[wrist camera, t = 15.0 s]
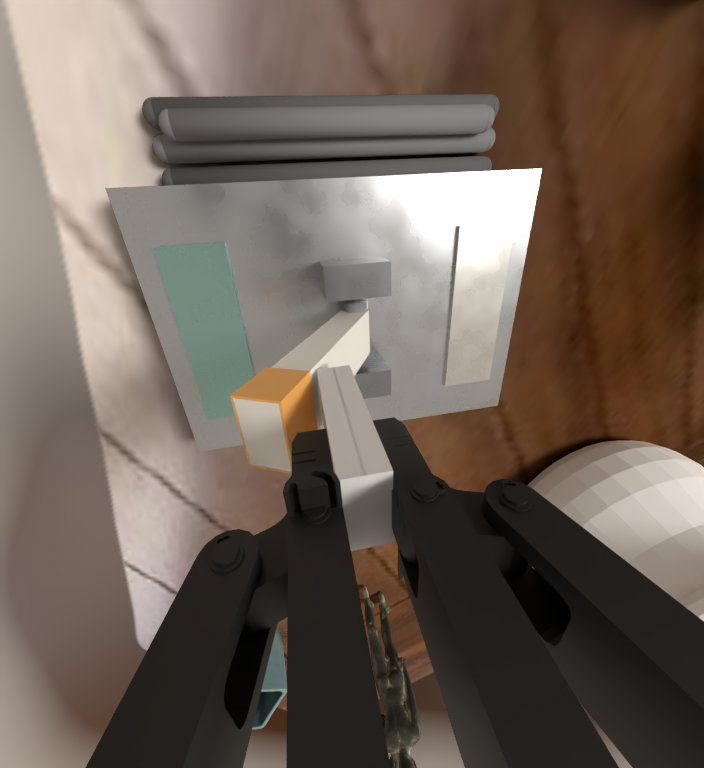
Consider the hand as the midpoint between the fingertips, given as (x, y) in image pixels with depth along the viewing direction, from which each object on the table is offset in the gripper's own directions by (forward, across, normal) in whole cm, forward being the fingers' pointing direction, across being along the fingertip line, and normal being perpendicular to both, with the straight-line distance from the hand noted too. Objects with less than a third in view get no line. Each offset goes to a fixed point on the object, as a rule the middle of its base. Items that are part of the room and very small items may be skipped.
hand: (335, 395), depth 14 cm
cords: (+13, +2, +11) cm, 17 cm away
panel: (+13, +2, 0) cm, 13 cm away
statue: (+13, +3, -39) cm, 41 cm away
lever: (+8, +2, 0) cm, 9 cm away
